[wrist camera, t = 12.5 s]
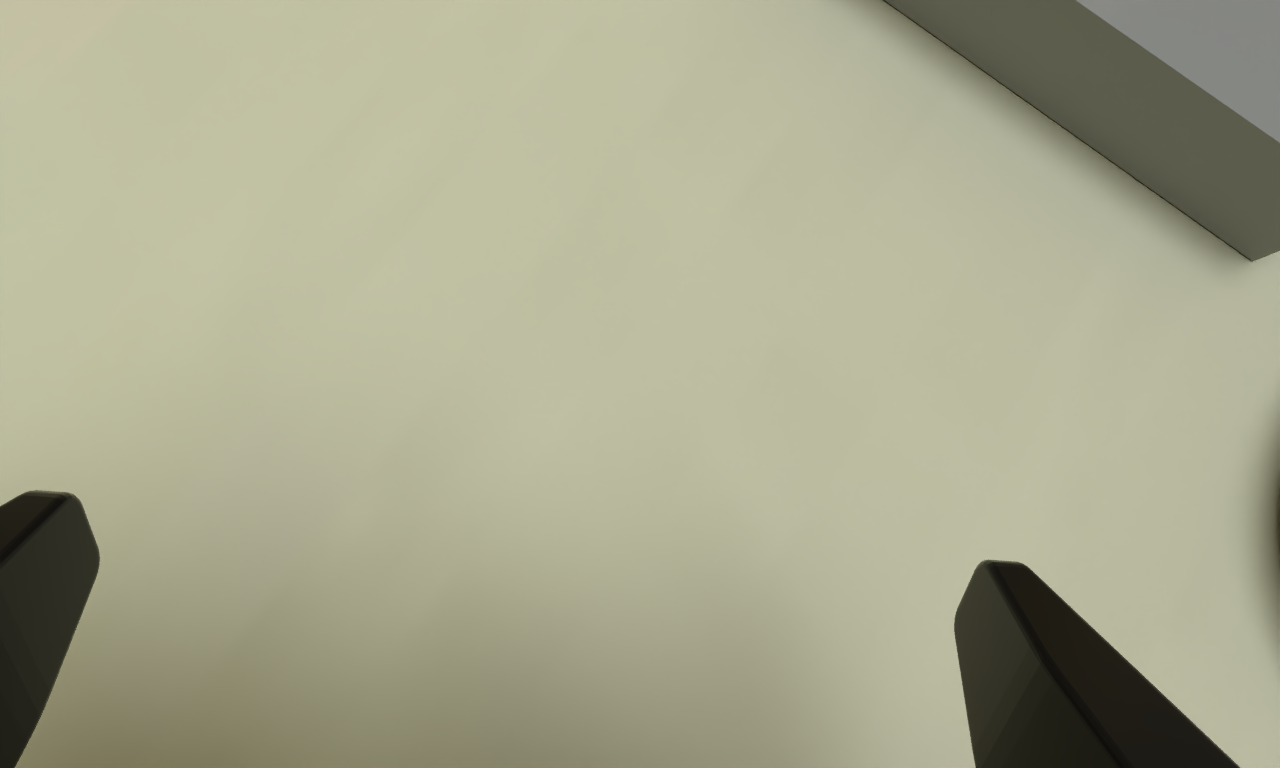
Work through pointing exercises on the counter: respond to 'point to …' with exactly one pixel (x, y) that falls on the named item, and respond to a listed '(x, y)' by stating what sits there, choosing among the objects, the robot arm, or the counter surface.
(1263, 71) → the socket block
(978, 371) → the counter surface
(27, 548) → the robot arm
